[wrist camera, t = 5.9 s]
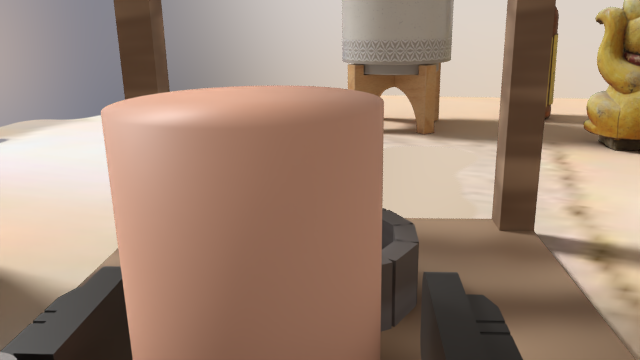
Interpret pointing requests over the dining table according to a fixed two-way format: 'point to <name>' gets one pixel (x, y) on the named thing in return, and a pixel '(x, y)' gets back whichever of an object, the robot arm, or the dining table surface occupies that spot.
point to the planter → (399, 50)
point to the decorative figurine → (618, 79)
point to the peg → (249, 222)
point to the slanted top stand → (453, 234)
